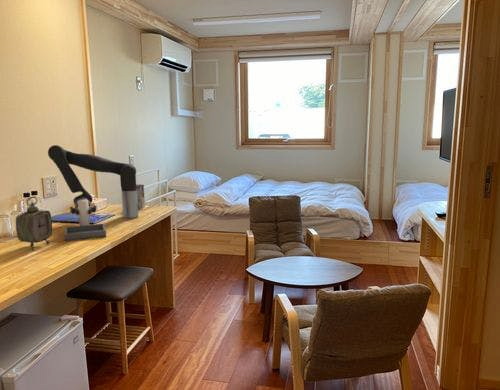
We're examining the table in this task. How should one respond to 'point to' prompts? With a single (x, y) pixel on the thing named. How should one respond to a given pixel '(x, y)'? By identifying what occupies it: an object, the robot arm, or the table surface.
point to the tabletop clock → (34, 225)
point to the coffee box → (140, 197)
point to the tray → (85, 232)
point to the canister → (83, 212)
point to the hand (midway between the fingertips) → (83, 212)
